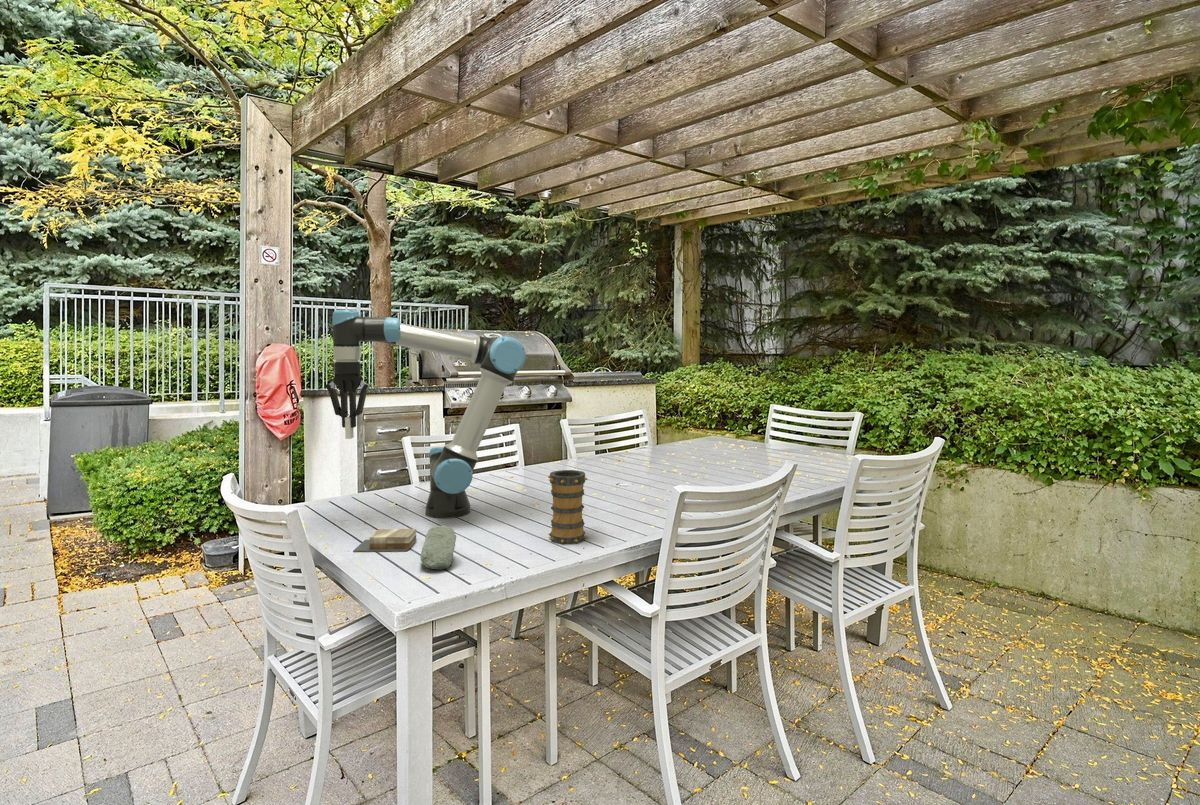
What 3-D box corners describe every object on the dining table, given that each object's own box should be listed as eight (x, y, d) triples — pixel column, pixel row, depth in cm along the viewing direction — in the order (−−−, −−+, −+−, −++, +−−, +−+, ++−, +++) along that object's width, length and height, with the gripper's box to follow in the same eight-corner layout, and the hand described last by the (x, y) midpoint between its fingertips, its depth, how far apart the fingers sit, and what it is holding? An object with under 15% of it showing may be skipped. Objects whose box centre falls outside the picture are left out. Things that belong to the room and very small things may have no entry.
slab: (378, 540, 184) (416, 540, 185) (369, 549, 176) (409, 549, 177) (378, 529, 184) (416, 528, 184) (369, 537, 176) (408, 537, 176)
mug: (540, 543, 183) (540, 476, 181) (557, 527, 200) (557, 465, 198) (582, 547, 180) (582, 479, 178) (596, 530, 197) (597, 467, 195)
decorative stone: (432, 553, 174) (414, 530, 169) (467, 540, 173) (450, 517, 168) (428, 591, 164) (408, 568, 158) (465, 577, 163) (447, 554, 157)
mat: (416, 540, 186) (416, 539, 186) (407, 551, 176) (407, 550, 176) (365, 541, 185) (365, 539, 185) (353, 552, 175) (353, 550, 175)
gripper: (372, 361, 193) (375, 436, 196) (330, 360, 193) (332, 436, 195) (364, 361, 186) (367, 439, 188) (320, 361, 186) (323, 440, 188)
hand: (349, 438), depth 192 cm, fingers closed
